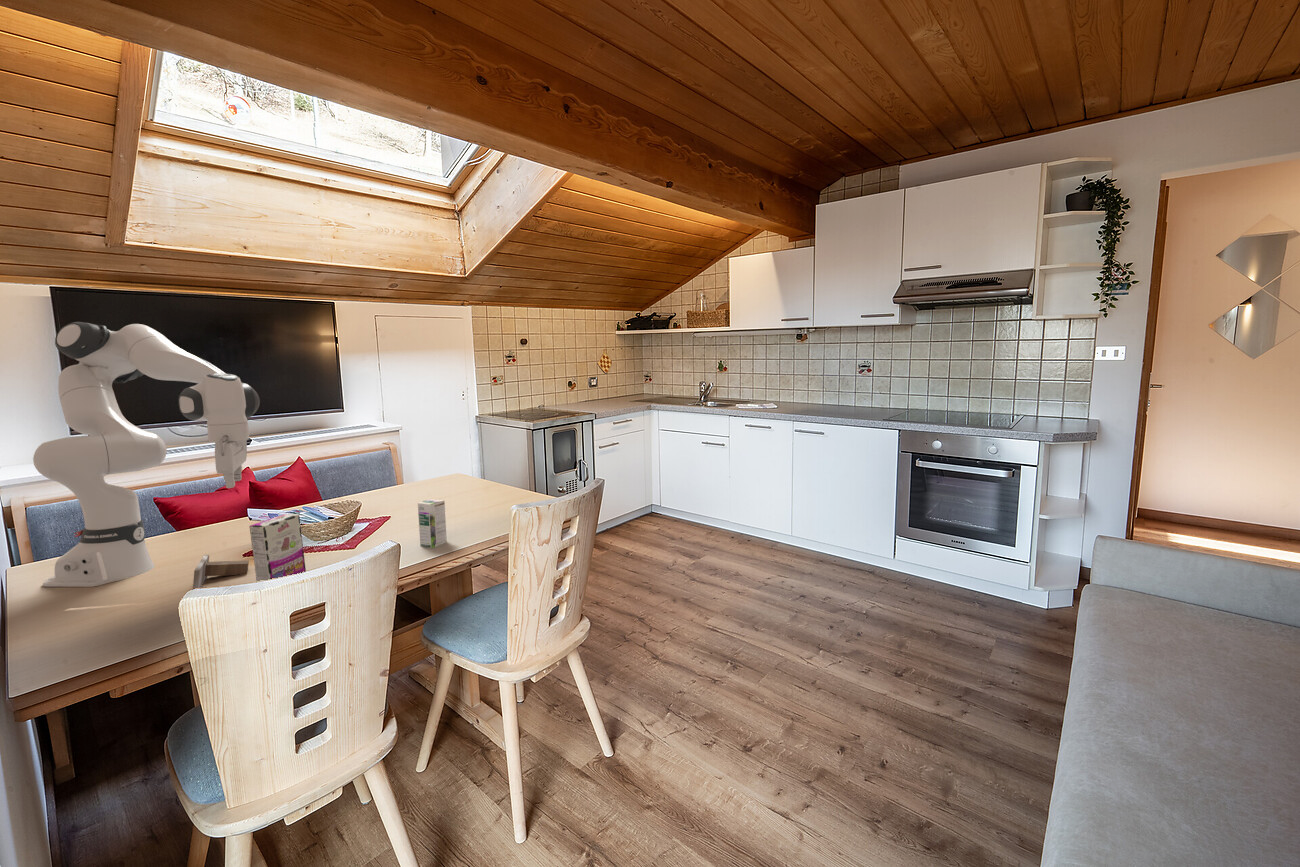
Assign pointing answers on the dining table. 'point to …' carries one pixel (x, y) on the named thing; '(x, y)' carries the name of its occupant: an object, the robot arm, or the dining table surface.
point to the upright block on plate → (217, 569)
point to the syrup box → (432, 523)
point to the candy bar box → (277, 547)
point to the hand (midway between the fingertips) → (234, 484)
